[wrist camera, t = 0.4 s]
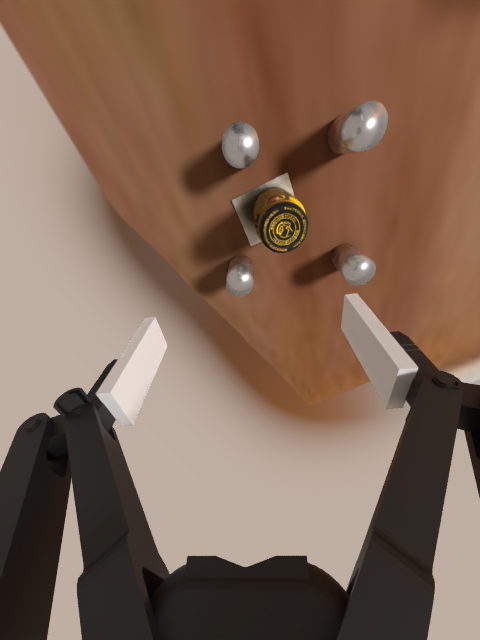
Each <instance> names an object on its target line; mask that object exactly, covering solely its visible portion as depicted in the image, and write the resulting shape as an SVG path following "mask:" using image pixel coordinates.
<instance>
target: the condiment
mask: <svg viewBox="0 0 480 640" xmlns="http://www.w3.org/2000/svg"><path fill="white" fill-rule="evenodd" d="M254 199H255V200H254ZM232 202H233V205H234V207H235V209H236V212H237V214H238V216H239V219H240V221H241V223H242V226H243V228H244V231H245V233H246V235H247V238H248V240H249V243H250V245H251V246H252V245H255V244H257V243H259V242H263V244H264V245H265V246H266V247H267V248H269V249H270V250H272V251H273V252H278V253H279V252H280V253H285V252H289V251H292V250H293V249H295V248H297V247H298V246H299V245H300V244H301V243H302V242H303V241H304V239H305V237H306V234H307V230H308V219H307V216H306V212H305V209H304V207H303V205H302V203H300V202H299V200H298V199H297V198H296V197H294V193H293V190H292V186H291V183H290V179H289V175H288V172H287V173H285V174H283V175H281V176H279V177H277V178H275V179H273V180H271V181H269V182H267V183H265V184H263V185H261V186H259V187H257V188H255V189H253V190H251V191H249V192H247V193H245V194H243V195H241V196H239V197H237V198H235V199H233V200H232Z"/></svg>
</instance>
